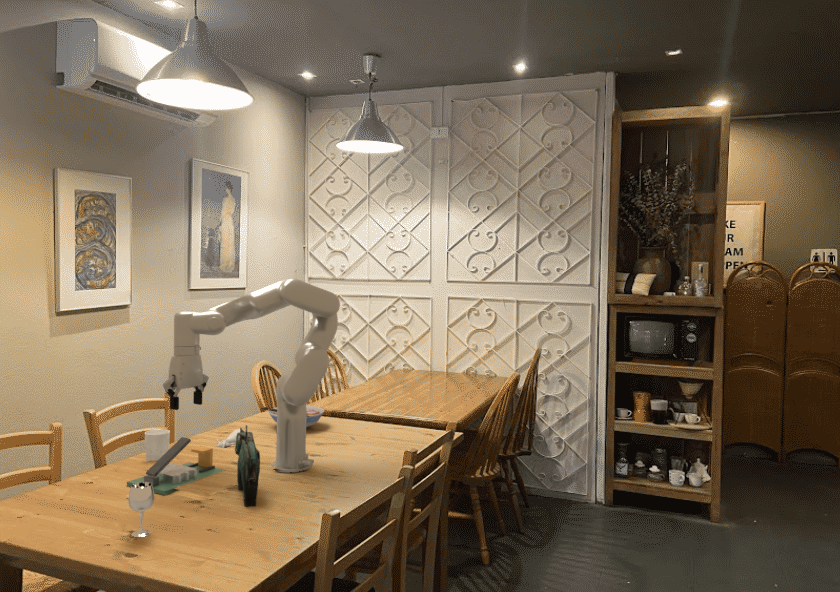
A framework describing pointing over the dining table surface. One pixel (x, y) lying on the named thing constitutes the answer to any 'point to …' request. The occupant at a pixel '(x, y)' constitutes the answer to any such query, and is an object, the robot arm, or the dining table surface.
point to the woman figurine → (229, 439)
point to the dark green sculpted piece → (247, 466)
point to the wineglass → (141, 503)
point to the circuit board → (169, 488)
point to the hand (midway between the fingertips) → (186, 406)
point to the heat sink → (172, 475)
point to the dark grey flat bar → (168, 456)
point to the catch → (204, 456)
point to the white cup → (156, 444)
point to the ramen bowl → (311, 414)
